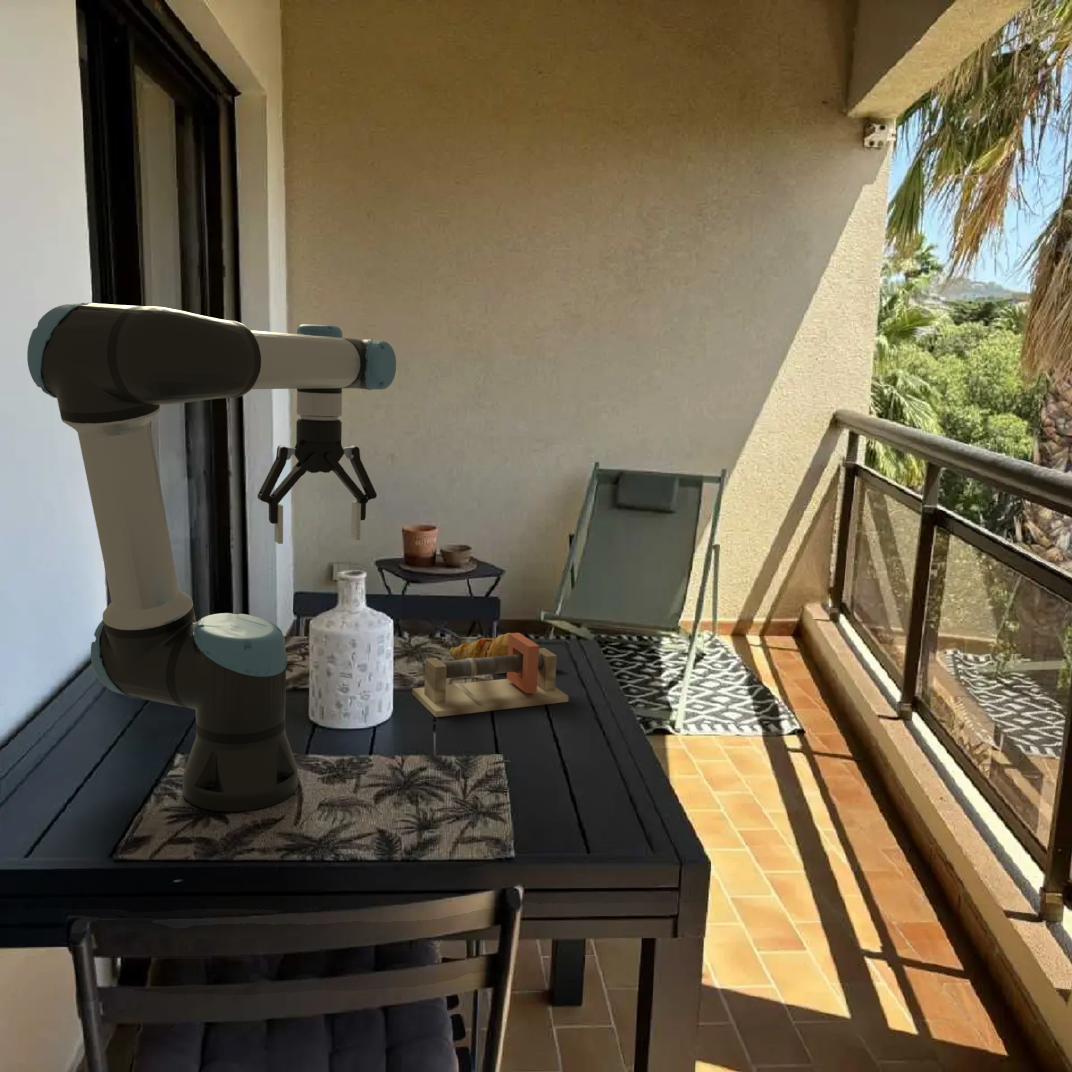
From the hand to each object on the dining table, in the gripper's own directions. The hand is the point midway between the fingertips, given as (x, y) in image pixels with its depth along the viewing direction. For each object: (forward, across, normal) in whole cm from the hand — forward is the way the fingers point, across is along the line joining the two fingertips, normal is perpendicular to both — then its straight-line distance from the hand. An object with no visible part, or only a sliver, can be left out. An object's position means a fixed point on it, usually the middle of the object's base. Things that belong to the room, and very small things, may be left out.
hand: (317, 540), depth 175 cm
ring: (+25, -33, +16) cm, 44 cm away
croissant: (+27, -37, -1) cm, 46 cm away
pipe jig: (+27, -27, +16) cm, 41 cm away
